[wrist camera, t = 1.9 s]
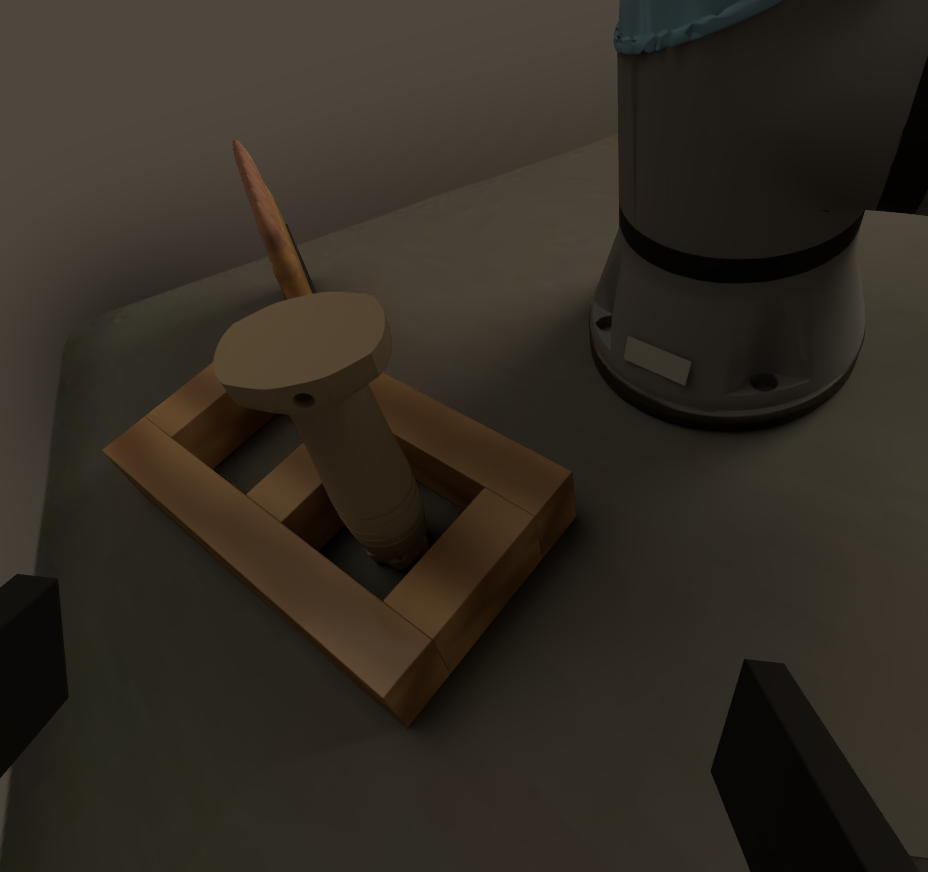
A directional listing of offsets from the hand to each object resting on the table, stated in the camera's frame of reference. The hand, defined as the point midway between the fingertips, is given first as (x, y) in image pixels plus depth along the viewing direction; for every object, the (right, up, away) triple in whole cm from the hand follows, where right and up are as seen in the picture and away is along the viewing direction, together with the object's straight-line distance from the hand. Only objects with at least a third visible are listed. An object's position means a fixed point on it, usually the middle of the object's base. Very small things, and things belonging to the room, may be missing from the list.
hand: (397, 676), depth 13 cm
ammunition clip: (-10, +13, +36) cm, 40 cm away
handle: (-2, -1, +23) cm, 23 cm away
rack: (-6, +1, +25) cm, 26 cm away
